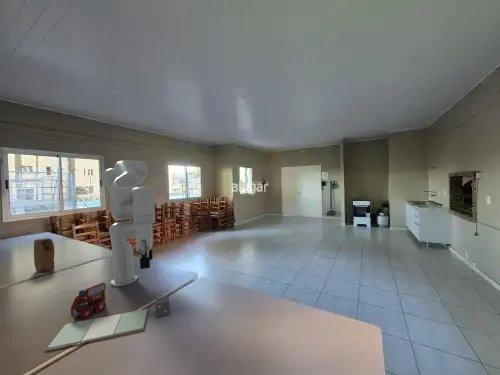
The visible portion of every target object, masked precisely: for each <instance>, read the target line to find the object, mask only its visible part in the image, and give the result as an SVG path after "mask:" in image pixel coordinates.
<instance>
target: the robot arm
mask: <svg viewBox="0 0 500 375" xmlns="http://www.w3.org/2000/svg"><path fill="white" fill-rule="evenodd" d="M148 170H149V169H148V166H147V164H146V163H145V162H144V161H141V160H119V161H117V162H116V163H115V164H114V165H113V168H108V169H105V170H104V172H103V181H104V185H105V187H106V188H107V191H108V194H109V202H110V204H109V205H110V212H111V217H112V218H113V219H114V220H118V221H119V222H115V223H112V224H111V225H110V226H109V229H108V233H109V238H110V242H111V243H110V244H111V250H112V251H111V252H112V267H113V269H112V270H113V272H112V273H113V279H112V280H111V281H110V285H111V286H112V287H123V286H124V287H125V286H128V285H131V284H134V283H135V282H136V281H137V280H138V275H136V274H135V266H134V264H135V262H134V248H133V245H132V244H131V243H130V242H129V241H128V240H131V239H135V251H136V253H139V266H140V267H139V268H140V270H143V269H144V270H146V269H150V267H151V261H152V260H153V259H154V257H153V249H152V247H153V243H154V235H153V224H155V223H156V212H155V211H156V210H155V208H156V207H155V193H154V192H155V191H154V188H153V187H151V186H138V185H139V184H141V183H142V182H143V181H144V180H145V179H146V178H147V176H148ZM129 219H130V220H129ZM131 219H133V220H131ZM120 220H127V221H121V222H120ZM128 220H129V221H128Z"/></svg>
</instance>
